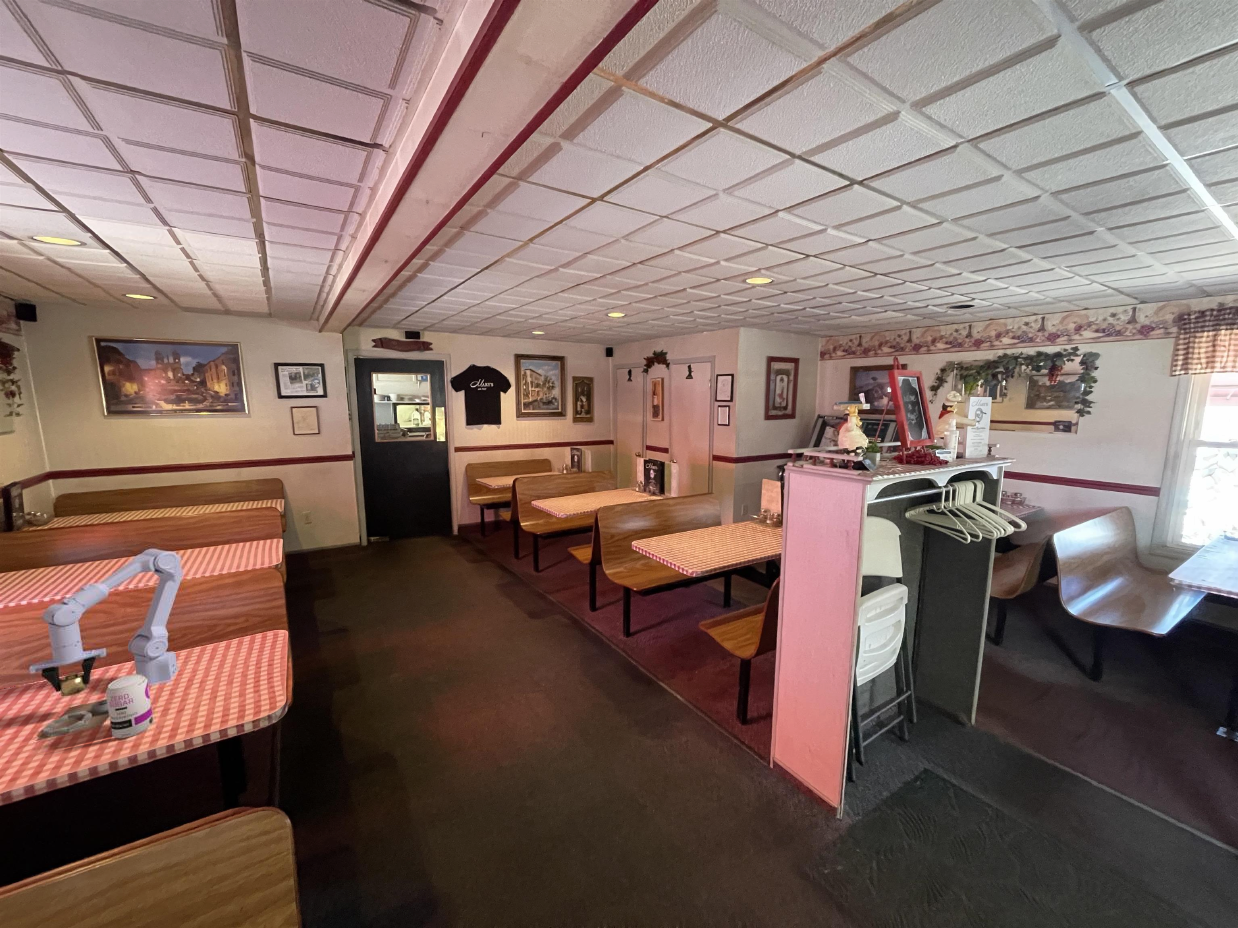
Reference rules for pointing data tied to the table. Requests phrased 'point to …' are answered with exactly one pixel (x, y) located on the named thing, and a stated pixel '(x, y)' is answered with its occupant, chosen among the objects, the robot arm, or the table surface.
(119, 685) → the supplement can
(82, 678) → the brass knob
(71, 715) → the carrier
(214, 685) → the table surface
